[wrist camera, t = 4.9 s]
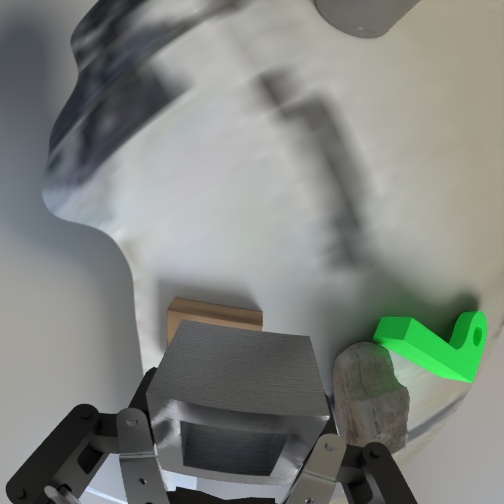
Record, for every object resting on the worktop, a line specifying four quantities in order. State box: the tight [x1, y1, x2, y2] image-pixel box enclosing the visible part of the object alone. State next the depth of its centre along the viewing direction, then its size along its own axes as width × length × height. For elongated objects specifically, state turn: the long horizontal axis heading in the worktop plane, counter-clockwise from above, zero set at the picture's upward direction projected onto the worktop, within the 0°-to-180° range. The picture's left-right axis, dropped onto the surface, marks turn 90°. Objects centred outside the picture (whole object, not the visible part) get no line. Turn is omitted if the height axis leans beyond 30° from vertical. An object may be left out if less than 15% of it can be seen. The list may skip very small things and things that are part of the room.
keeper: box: [167, 298, 263, 346], centre depth 28 cm, size 10×10×8 cm
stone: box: [332, 341, 410, 461], centre depth 26 cm, size 19×7×15 cm, turn 10°
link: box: [146, 319, 330, 485], centre depth 11 cm, size 6×6×5 cm
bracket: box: [373, 311, 487, 383], centre depth 29 cm, size 20×10×7 cm, turn 58°
